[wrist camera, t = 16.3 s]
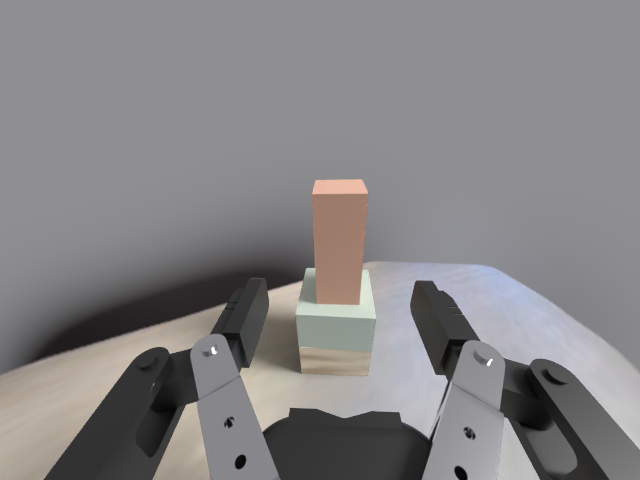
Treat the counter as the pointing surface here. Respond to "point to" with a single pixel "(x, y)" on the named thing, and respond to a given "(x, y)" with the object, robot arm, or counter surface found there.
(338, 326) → the tower top block
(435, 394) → the counter surface
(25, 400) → the counter surface
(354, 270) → the peach block
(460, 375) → the robot arm
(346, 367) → the tower base block
